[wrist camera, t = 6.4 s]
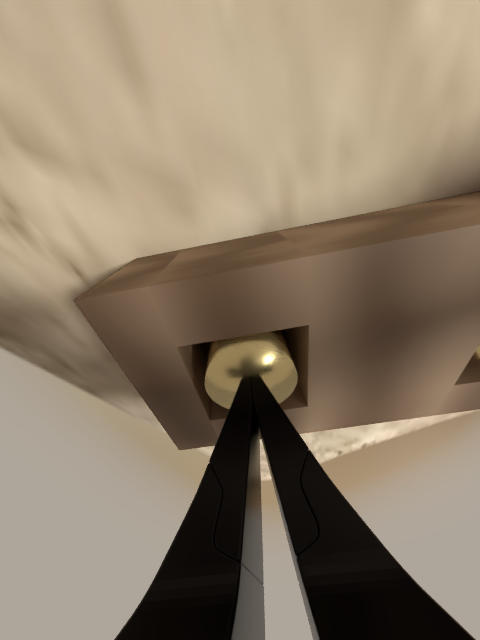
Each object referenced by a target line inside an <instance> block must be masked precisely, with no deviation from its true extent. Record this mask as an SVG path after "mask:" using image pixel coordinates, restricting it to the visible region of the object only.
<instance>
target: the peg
mask: <svg viewBox="0 0 480 640" xmlns="http://www.w3.org/2000/svg"><path fill="white" fill-rule="evenodd" d="M256 376H260V377H261V378H262V379H263V381H264V382H265V384H266V385H267V387H268V388H269V390H270V391H271V393H272V394H273V396H274V397H275V399H276V400H277V402H278V403H281V402H283V401H284V400H285V399H287V398H288V397H289V396H290V395H291V393H292V392H293V391H294V389H295V387H296V384H297V379H298V376H297V371H296V368H295V365H294V363H293V360H292V358H291V355H290V352H289V350H288V347H287V344H286V342H285V339H284V337H283V334H282V331H281V330H276V331H270V332H264V333H258V334H252V335H246V336H240V337H234V338H228V339H222V340H216V341H210V346H209V353H208V360H207V367H206V375H205V389H206V391H207V393H208V395H209V396H210V398H211V399H212V400H213V401H214V402H216V403H217V404H219V405H220V406H222V407H225V408H227V409H230V407H231V404H232V401H233V399H234V396H235V394H236V391H237V389H238V386H239V383H240V381H241V379H243V378H252V377H256Z"/></svg>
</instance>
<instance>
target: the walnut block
mask: <svg viewBox="0 0 480 640" xmlns="http://www.w3.org/2000/svg"><path fill="white" fill-rule="evenodd" d="M73 301H74V302H75V303H76V305H77V306H78V308H79V309H80V310H81V312H82V313H83V315H84V316H85V317H86V319H87V320H88V322H89V323H90V325H91V326H92V327H93V329H94V330H95V332H96V333H97V334H98V336H99V337H100V339H101V340H102V342H103V343H104V344H105V346H106V347H107V349H108V350H109V351H110V353H111V354H112V356H113V357H114V358H115V360H116V361H117V363H118V364H119V366H120V367H121V368H122V370H123V371H124V373H125V374H126V375H127V377H128V378H129V380H130V381H131V383H132V384H133V385H134V387H135V388H136V390H137V391H138V392H139V394H140V395H141V397H142V398H143V399H144V401H145V402H146V404H147V405H148V407H149V408H150V409H151V411H152V412H153V414H154V415H155V416H156V418H157V419H158V421H159V422H160V424H161V425H162V426H163V428H164V429H165V431H166V432H167V433H168V435H169V436H170V438H171V439H172V440H173V442H174V443H175V445H176V446H177V447H178V449H179V450H185V449H192V448H200V447H207V446H214V445H216V443H217V440H218V437H219V435H220V432H221V430H222V427H223V425H224V422H225V419H226V417H227V414H228V412H229V409H227V408H225V407H222V406H220V405H219V404H217V403H216V402H214V401H213V400H212V399H211V398H210V396H209V395H208V393H207V391H206V389H205V375H206V367H207V360H208V353H209V346H210V341H216V340H222V339H228V338H234V337H240V336H246V335H252V334H258V333H264V332H270V331H276V330H282V329H283V334H284V339H285V342H286V344H287V347H288V350H289V352H290V355H291V358H292V360H293V363H294V365H295V368H296V371H297V376H298V379H297V384H296V387H295V389H294V391H293V392H292V393H291V395H290V396H289V397H288V398H287V399H285V400H284V401H283V402H281V403H279V405H280V406H281V408H282V409H283V411H284V412H285V414H286V415H287V417H288V418H289V420H290V421H291V423H292V424H293V426H294V427H295V429H296V430H297V432H298V433H299V434H302V433H309V432H317V431H324V430H331V429H339V428H346V427H353V426H360V425H368V424H375V423H382V422H390V421H397V420H404V419H412V418H419V417H426V416H433V415H441V414H448V413H455V412H463V411H470V410H477V409H480V360H479V359H477V358H476V357H474V356H473V354H474V352H475V351H476V349H477V348H478V346H479V344H480V191H479V192H474V193H468V194H463V195H458V196H453V197H448V198H443V199H438V200H433V201H428V202H423V203H417V204H412V205H407V206H402V207H397V208H392V209H387V210H382V211H377V212H372V213H366V214H361V215H356V216H351V217H346V218H341V219H336V220H331V221H326V222H321V223H315V224H310V225H305V226H300V227H295V228H290V229H285V230H280V231H275V232H270V233H264V234H259V235H254V236H249V237H244V238H239V239H234V240H229V241H224V242H218V243H213V244H208V245H203V246H198V247H193V248H188V249H183V250H178V251H173V252H167V253H162V254H157V255H152V256H147V257H142V258H137V259H135V260H134V261H132V262H131V263H129V264H128V265H126V266H125V267H123V268H122V269H120V270H119V271H117V272H116V273H114V274H113V275H111V276H110V277H108V278H107V279H105V280H104V281H102V282H101V283H99V284H98V285H96V286H95V287H93V288H92V289H90V290H88V291H87V292H85V293H84V294H82V295H81V296H79V297H78V298H76V299H75V300H73ZM259 439H261V434H260V430H259Z"/></svg>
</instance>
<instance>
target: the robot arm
mask: <svg viewBox="0 0 480 640" xmlns="http://www.w3.org/2000/svg"><path fill="white" fill-rule="evenodd" d="M259 430H260V434H261V439H262V442H263V446H264V450H265V454H266V458H267V462H268V466H269V469H270V473H271V477H272V481H273V485H274V488H275V493H276V497H277V500H278V504H279V508H280V512H281V516H282V519H283V524H284V527H285V531H286V535H287V539H288V543H289V546H290V551H291V555H292V558H293V562H294V566H295V570H296V574H297V578H298V581H299V585H300V589H301V593H302V597H303V601H304V605H305V609H306V612H307V616H308V620H309V624H310V628H311V632H312V636H313V640H475V639H474V638H473V637H472V636H471V635H470V634H469V633H468V632H467V631H466V630H465V629H464V628H463V627H462V626H461V625H460V624H459V623H458V622H457V621H456V620H454V618H452V617H451V616H450V615H449V614H448V613H447V612H446V611H445V610H444V609H443V608H442V607H441V606H440V605H439V604H438V603H437V602H436V601H435V600H434V599H432V598H431V596H430V595H428V594H427V593H426V592H425V591H424V590H423V589H422V588H421V587H420V586H419V585H418V584H417V583H416V581H415V580H414V579H413V578H412V577H411V576H410V575H409V574H408V573H407V572H406V571H405V570H404V569H403V568H402V566H401V565H400V564H399V563H398V562H397V561H396V559H395V558H394V557H393V556H392V555H391V554H390V552H389V551H388V550H387V549H386V548H385V547H384V545H383V544H382V543H381V542H380V541H379V539H378V538H377V537H376V536H375V534H374V533H373V532H372V531H371V529H370V528H369V527H368V526H367V525H366V523H365V522H364V521H363V520H362V518H361V517H360V516H359V515H358V514H357V512H356V511H355V510H354V509H353V507H352V506H351V505H350V504H349V503H348V501H347V500H346V499H345V498H344V496H343V495H342V494H341V492H340V491H339V490H338V489H337V487H336V486H335V485H334V484H333V482H332V481H331V480H330V478H329V477H328V476H327V474H326V473H325V471H324V470H323V468H322V467H321V466H320V464H319V463H318V461H317V460H316V458H315V457H314V455H313V454H312V452H311V451H310V450H309V448H308V447H307V445H306V444H305V442H304V441H303V439H302V438H301V436H300V435H299V433H298V432H297V430H296V429H295V427H294V426H293V424H292V423H291V421H290V420H289V418H288V417H287V415H286V414H285V412H284V411H283V409H282V408H281V406H280V405H279V403H278V402H277V400H276V399H275V397H274V396H273V394H272V393H271V391H270V390H269V388H268V387H267V385H266V384H265V382H264V381H263V379H262V378H261V377H260V376H256V377H252V378H243V379H241V381H240V383H239V386H238V389H237V391H236V394H235V396H234V399H233V401H232V404H231V407H230V409H229V412H228V414H227V417H226V419H225V422H224V425H223V427H222V430H221V432H220V435H219V437H218V440H217V443H216V445H215V448H214V450H213V453H212V455H211V458H210V461H209V462H210V463H209V464H208V465H207V468H206V471H205V473H204V476H203V478H202V481H201V483H200V485H199V488H198V490H197V493H196V495H195V497H194V499H193V501H192V503H191V505H190V508H189V510H188V512H187V514H186V516H185V518H184V520H183V522H182V524H181V526H180V528H179V530H178V532H177V534H176V536H175V538H174V540H173V542H172V544H171V546H170V548H169V550H168V552H167V554H166V556H165V558H164V560H163V562H162V564H161V566H160V568H159V570H158V572H157V574H156V576H155V578H154V580H153V582H152V584H151V585H150V587H149V589H148V591H147V592H146V594H145V596H144V597H143V599H142V601H141V603H140V604H139V605H138V607H137V609H136V610H135V612H134V613H133V615H132V616H131V618H130V619H129V620H128V621H127V623H126V624H125V626H124V627H123V628H122V630H121V631H120V633H119V634H118V635H117V637H116V638H115V639H114V640H265V619H264V586H263V549H262V548H263V547H262V512H261V475H260V439H259Z"/></svg>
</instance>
